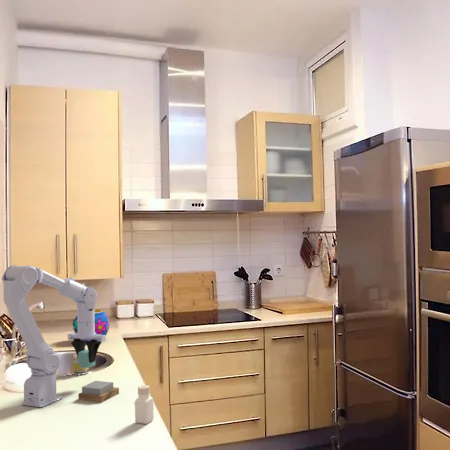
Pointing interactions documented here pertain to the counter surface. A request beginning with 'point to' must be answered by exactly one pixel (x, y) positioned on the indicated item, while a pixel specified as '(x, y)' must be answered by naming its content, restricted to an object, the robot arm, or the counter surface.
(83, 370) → the supplement bottle
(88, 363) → the teal block
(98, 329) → the ceramic pot
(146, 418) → the white square bottle
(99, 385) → the slate-grey block
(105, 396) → the walnut block
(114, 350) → the counter surface
